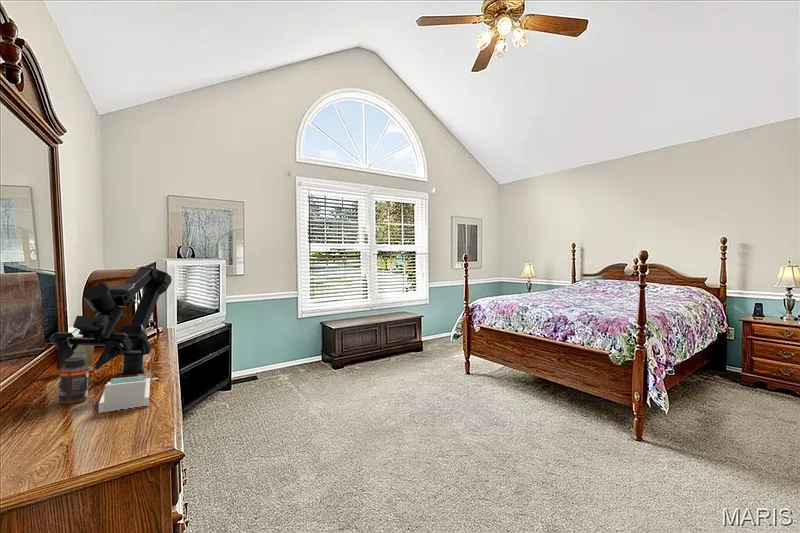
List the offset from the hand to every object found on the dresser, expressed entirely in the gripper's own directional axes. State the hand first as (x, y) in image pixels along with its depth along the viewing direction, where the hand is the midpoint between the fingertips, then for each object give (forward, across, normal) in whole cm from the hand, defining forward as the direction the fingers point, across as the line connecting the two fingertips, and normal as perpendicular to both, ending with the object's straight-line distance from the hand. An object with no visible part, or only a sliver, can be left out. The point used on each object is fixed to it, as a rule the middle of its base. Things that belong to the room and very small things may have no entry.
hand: (77, 368), depth 102 cm
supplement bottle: (+7, 0, +6) cm, 9 cm away
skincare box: (-15, -17, +27) cm, 35 cm away
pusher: (+5, +12, +7) cm, 15 cm away
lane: (+5, +12, +7) cm, 15 cm away
